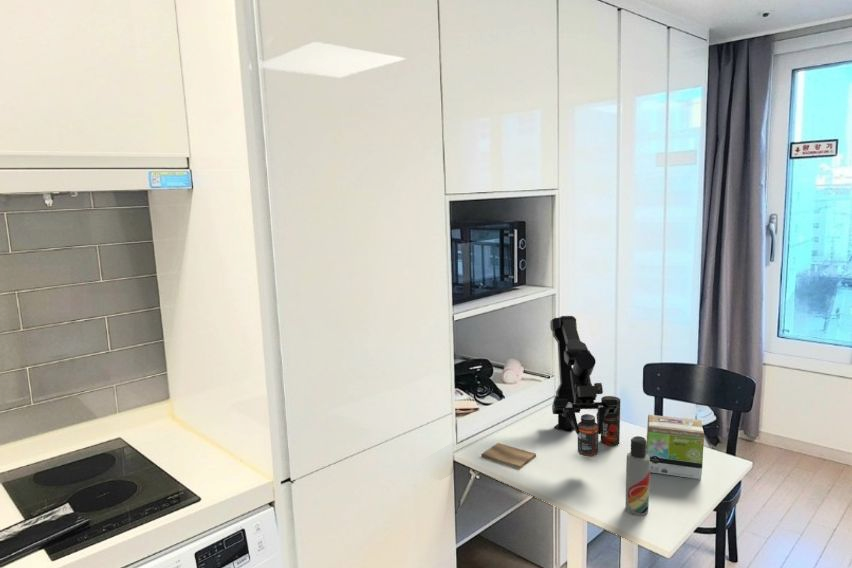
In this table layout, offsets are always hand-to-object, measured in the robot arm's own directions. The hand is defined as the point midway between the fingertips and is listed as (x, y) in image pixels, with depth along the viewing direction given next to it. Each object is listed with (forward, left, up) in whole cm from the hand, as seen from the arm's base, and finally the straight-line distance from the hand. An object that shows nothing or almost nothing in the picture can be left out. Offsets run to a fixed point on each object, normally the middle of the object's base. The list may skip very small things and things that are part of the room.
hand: (589, 433), depth 168 cm
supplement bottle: (-1, -1, -7) cm, 7 cm away
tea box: (-18, +18, -13) cm, 29 cm away
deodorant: (-25, -4, -13) cm, 29 cm away
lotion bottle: (+10, +17, -13) cm, 24 cm away
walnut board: (+3, -26, -13) cm, 29 cm away
